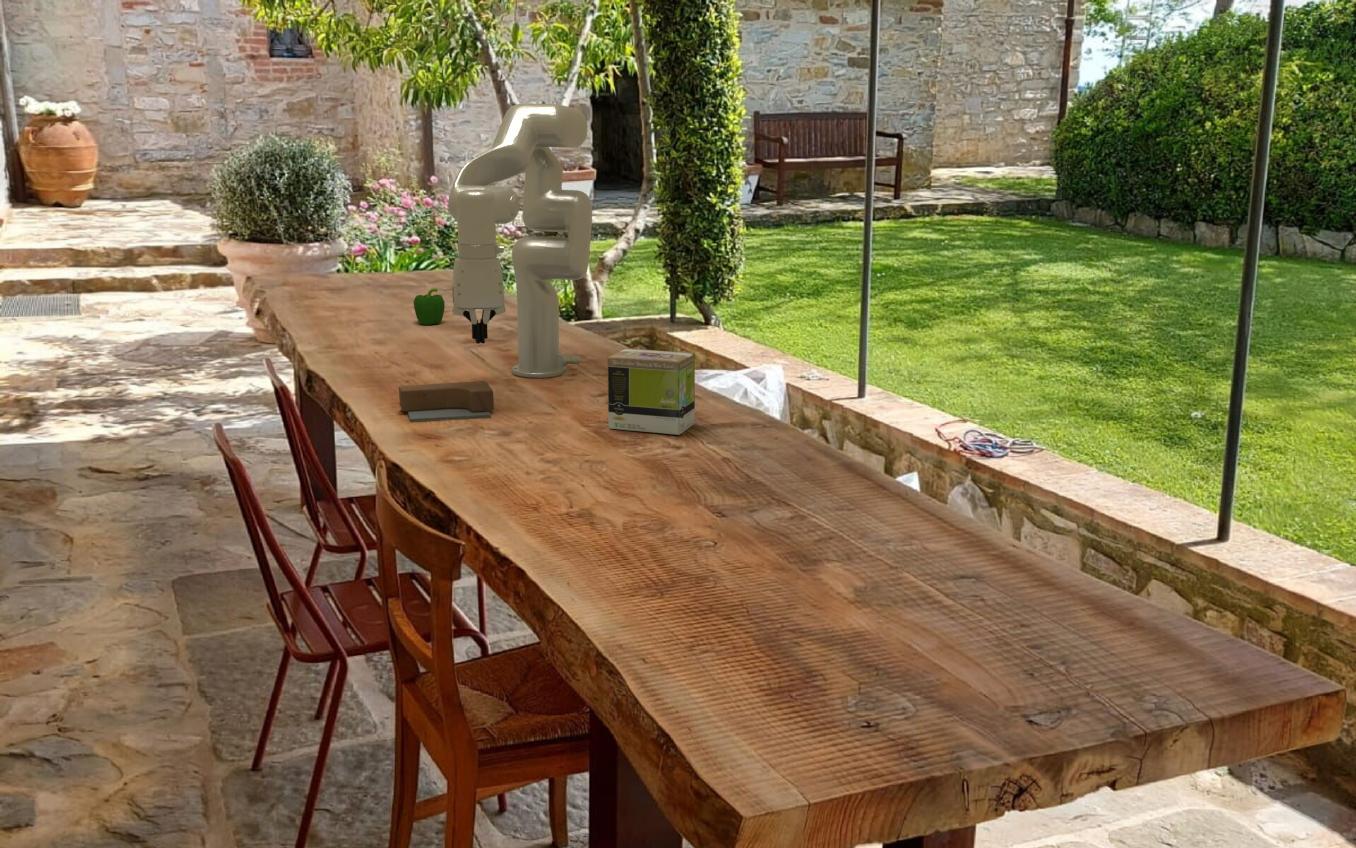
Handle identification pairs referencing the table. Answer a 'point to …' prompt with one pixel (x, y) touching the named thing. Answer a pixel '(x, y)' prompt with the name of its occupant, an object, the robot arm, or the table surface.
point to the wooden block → (447, 396)
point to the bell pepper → (429, 308)
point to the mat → (446, 414)
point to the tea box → (651, 391)
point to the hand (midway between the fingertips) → (479, 342)
